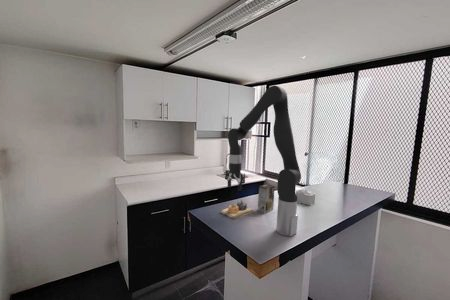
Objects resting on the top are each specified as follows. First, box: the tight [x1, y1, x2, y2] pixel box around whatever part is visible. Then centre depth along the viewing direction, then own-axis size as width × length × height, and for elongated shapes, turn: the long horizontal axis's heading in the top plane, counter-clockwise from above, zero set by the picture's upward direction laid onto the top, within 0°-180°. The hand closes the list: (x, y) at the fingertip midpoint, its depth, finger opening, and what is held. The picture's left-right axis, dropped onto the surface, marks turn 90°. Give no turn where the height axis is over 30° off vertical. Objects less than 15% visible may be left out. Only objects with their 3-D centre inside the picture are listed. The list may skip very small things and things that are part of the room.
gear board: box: [220, 199, 255, 220], centre depth 132 cm, size 12×17×7 cm
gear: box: [227, 204, 239, 214], centre depth 130 cm, size 6×6×3 cm
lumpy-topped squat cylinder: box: [295, 188, 316, 206], centre depth 157 cm, size 10×13×9 cm
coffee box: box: [257, 183, 275, 214], centre depth 137 cm, size 9×6×16 cm
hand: (234, 188), depth 128 cm, fingers open, 8 cm apart
